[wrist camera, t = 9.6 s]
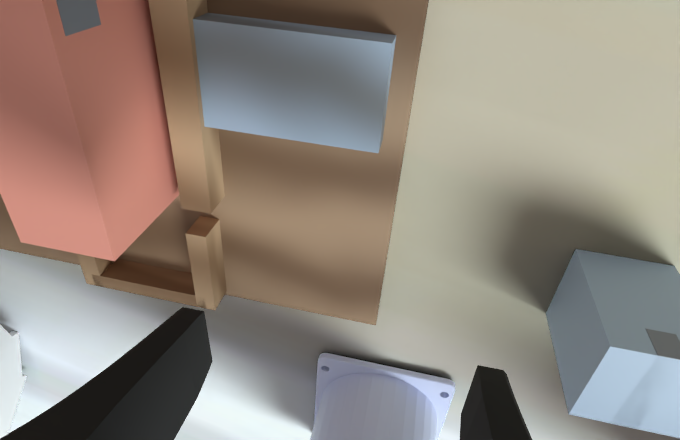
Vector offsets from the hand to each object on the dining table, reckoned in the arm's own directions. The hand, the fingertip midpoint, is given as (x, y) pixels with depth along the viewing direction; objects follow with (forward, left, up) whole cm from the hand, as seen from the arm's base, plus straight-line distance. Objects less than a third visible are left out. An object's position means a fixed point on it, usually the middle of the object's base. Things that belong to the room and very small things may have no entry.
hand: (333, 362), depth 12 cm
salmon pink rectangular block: (+4, +11, -9) cm, 15 cm away
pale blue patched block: (-4, -11, -10) cm, 15 cm away
